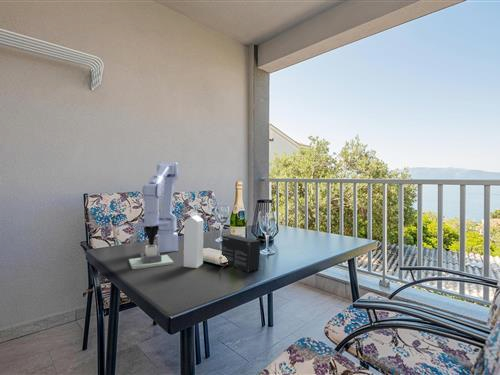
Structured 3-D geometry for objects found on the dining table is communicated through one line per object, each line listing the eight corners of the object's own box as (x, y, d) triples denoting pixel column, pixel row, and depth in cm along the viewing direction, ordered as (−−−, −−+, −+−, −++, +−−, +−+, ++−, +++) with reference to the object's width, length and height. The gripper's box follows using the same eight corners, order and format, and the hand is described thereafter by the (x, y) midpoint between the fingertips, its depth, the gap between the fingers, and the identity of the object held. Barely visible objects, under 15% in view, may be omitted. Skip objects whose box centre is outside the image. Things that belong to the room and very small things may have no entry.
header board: (166, 256, 127) (167, 249, 127) (173, 264, 116) (173, 255, 116) (128, 261, 119) (128, 253, 119) (132, 269, 109) (132, 260, 109)
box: (260, 269, 112) (260, 240, 112) (248, 273, 108) (249, 242, 107) (232, 260, 124) (232, 233, 124) (220, 263, 120) (221, 235, 119)
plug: (155, 258, 121) (155, 243, 120) (156, 261, 117) (156, 245, 117) (145, 259, 119) (145, 244, 118) (146, 262, 115) (146, 246, 115)
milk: (183, 266, 113) (183, 213, 113) (190, 262, 119) (190, 211, 119) (197, 268, 112) (197, 213, 111) (203, 263, 118) (203, 212, 117)
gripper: (134, 214, 110) (133, 248, 111) (171, 212, 117) (170, 244, 118) (132, 212, 116) (131, 244, 117) (167, 210, 123) (166, 241, 124)
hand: (151, 244), depth 118 cm, fingers closed
